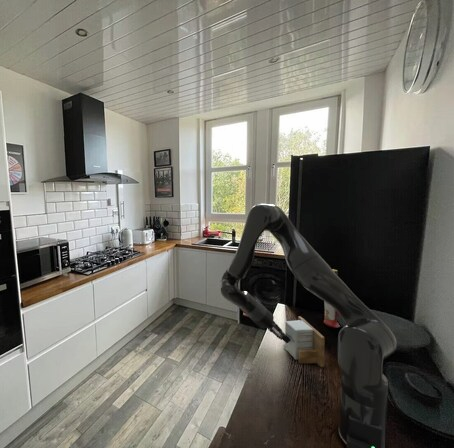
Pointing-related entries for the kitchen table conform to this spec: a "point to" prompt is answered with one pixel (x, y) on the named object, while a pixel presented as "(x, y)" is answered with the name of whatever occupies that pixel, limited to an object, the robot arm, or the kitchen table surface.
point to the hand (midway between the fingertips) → (288, 340)
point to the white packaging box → (298, 337)
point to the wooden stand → (318, 348)
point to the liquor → (331, 314)
